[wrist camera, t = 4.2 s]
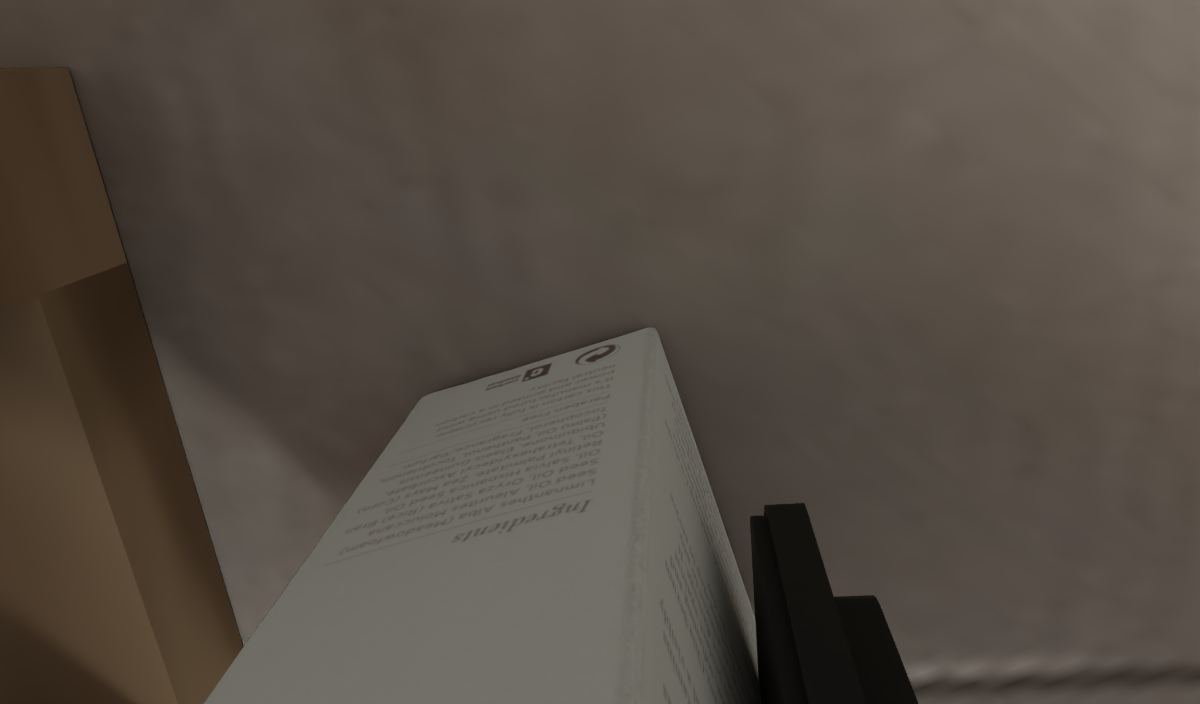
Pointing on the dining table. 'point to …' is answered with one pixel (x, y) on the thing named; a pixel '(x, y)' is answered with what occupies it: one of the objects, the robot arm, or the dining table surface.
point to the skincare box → (521, 556)
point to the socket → (89, 444)
